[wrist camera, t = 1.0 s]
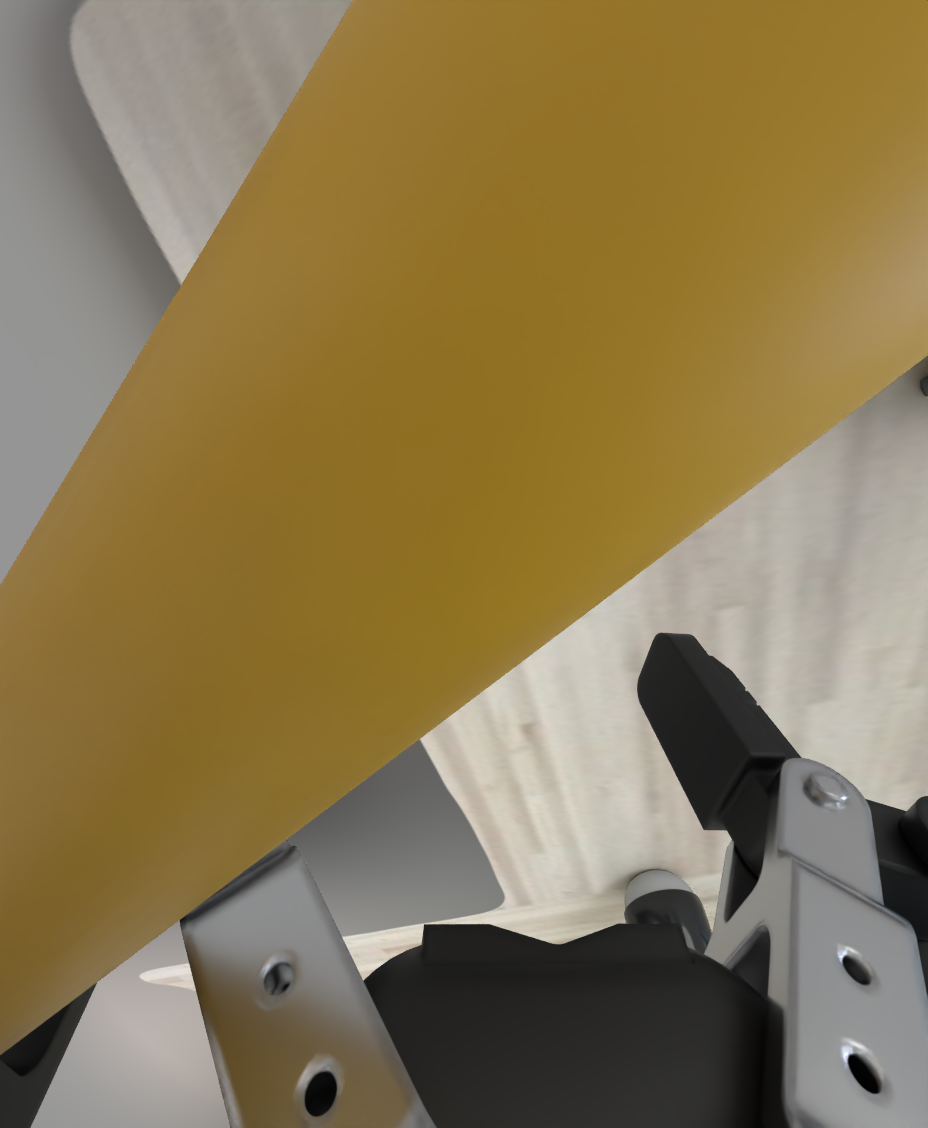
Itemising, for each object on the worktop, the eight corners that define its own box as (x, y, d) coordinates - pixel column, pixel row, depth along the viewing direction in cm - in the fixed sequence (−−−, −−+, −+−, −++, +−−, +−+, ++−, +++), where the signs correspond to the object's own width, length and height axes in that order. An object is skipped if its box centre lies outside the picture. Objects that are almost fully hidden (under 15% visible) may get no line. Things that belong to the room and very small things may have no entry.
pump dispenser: (696, 885, 65) (761, 1032, 52) (626, 904, 67) (672, 1051, 54) (680, 851, 60) (746, 1003, 47) (605, 872, 62) (649, 1024, 49)
